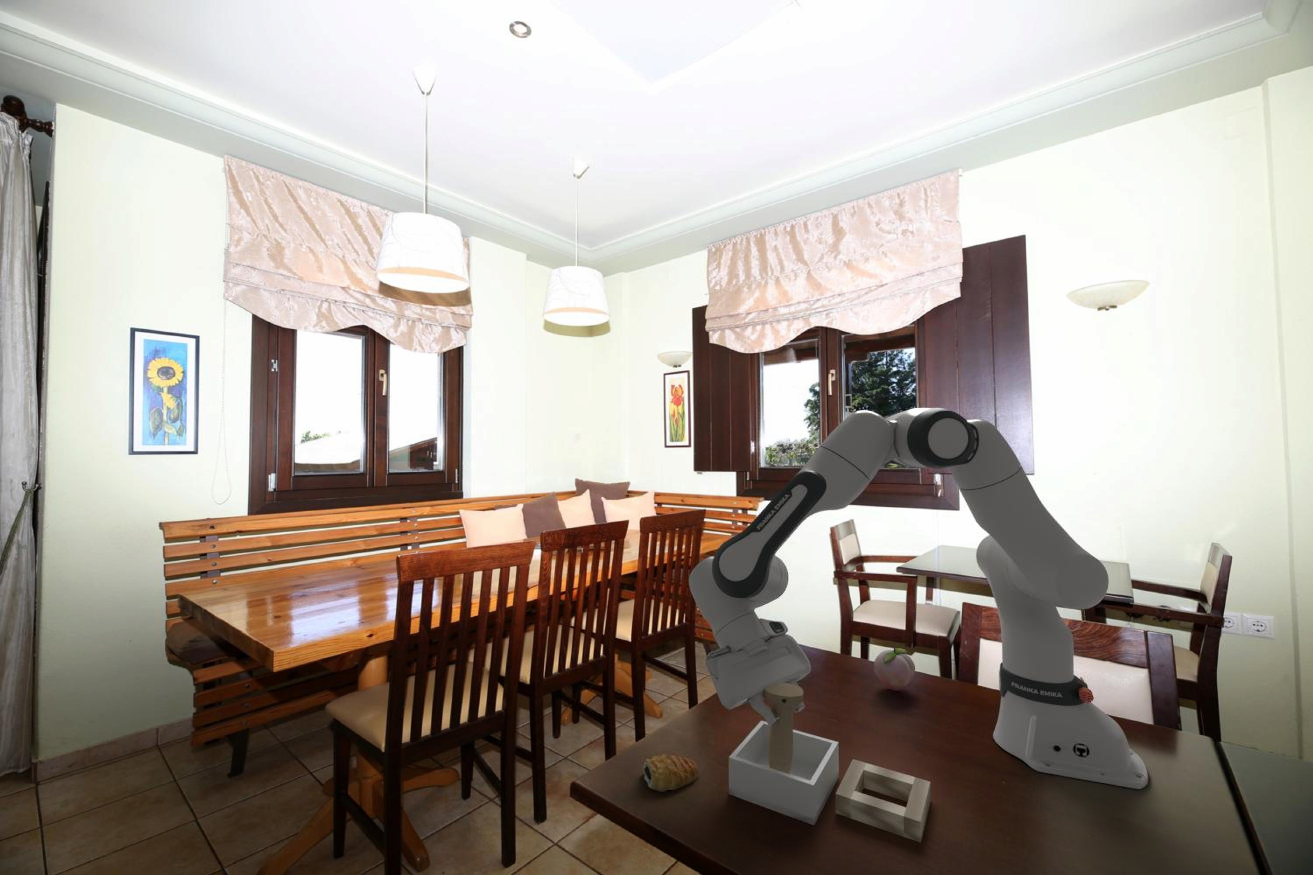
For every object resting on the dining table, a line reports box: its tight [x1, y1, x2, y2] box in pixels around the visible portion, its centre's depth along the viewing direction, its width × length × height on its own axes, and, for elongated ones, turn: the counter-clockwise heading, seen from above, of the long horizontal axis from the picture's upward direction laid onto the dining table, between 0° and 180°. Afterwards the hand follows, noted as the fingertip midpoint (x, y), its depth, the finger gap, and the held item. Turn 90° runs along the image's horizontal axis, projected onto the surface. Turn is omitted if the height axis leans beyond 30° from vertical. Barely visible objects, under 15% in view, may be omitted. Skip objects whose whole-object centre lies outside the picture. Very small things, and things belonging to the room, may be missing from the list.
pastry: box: [642, 753, 700, 793], centre depth 95 cm, size 9×7×4 cm
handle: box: [763, 682, 804, 774], centre depth 93 cm, size 5×6×15 cm
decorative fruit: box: [873, 646, 916, 692], centre depth 128 cm, size 9×8×10 cm
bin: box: [728, 720, 840, 826], centre depth 93 cm, size 14×14×6 cm
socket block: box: [835, 758, 932, 844], centre depth 88 cm, size 12×11×3 cm
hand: (787, 716), depth 93 cm, fingers open, 5 cm apart
